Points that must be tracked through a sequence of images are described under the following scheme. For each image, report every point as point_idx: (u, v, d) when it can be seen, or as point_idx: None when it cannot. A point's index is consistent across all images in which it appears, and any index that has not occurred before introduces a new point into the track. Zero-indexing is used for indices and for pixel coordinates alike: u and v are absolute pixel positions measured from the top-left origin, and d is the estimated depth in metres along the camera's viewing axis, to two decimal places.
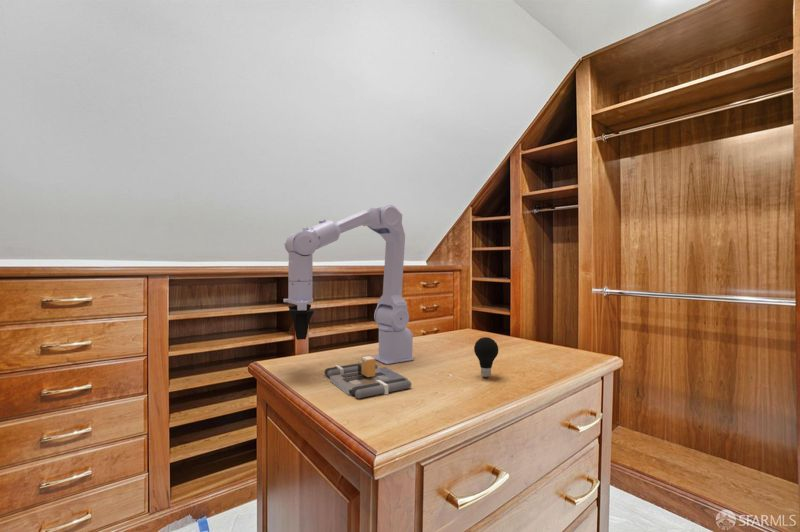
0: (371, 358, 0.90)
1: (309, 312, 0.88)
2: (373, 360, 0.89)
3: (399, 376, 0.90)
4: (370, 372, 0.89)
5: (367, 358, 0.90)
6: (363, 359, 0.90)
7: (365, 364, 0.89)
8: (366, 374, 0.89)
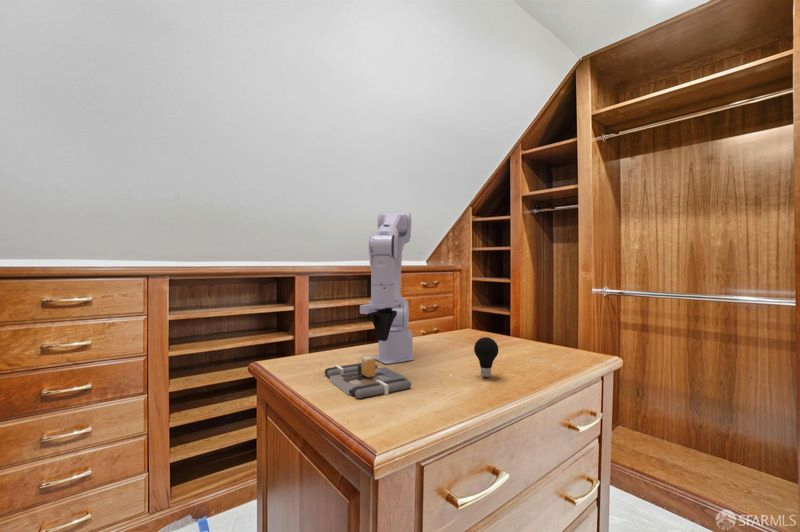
0: (371, 358, 0.90)
1: (381, 315, 0.89)
2: (373, 360, 0.89)
3: (399, 376, 0.90)
4: (370, 372, 0.89)
5: (367, 358, 0.90)
6: (363, 359, 0.90)
7: (365, 364, 0.89)
8: (366, 374, 0.89)
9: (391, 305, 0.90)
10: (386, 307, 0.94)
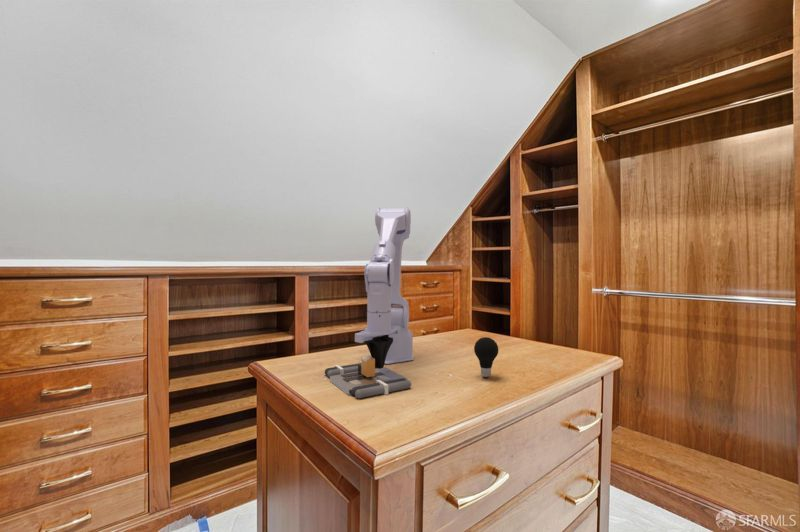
0: (371, 358, 0.90)
1: (377, 343, 0.88)
2: (373, 360, 0.89)
3: (399, 376, 0.90)
4: (370, 372, 0.89)
5: (367, 358, 0.89)
6: (363, 359, 0.90)
7: (365, 364, 0.89)
8: (366, 374, 0.89)
9: (387, 333, 0.89)
10: None
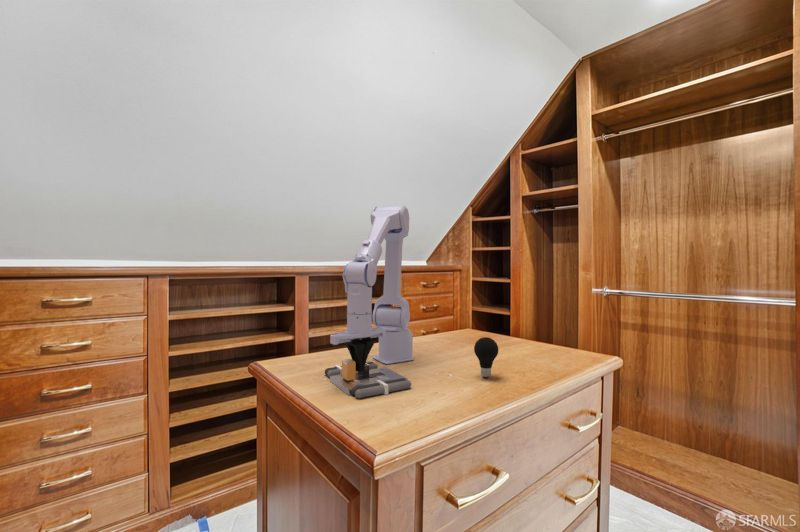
0: (351, 361, 0.87)
1: (354, 345, 0.86)
2: (353, 363, 0.86)
3: (399, 376, 0.90)
4: (350, 375, 0.86)
5: (347, 361, 0.87)
6: (343, 362, 0.87)
7: (345, 367, 0.86)
8: (346, 377, 0.86)
9: (365, 335, 0.86)
10: (364, 336, 0.90)
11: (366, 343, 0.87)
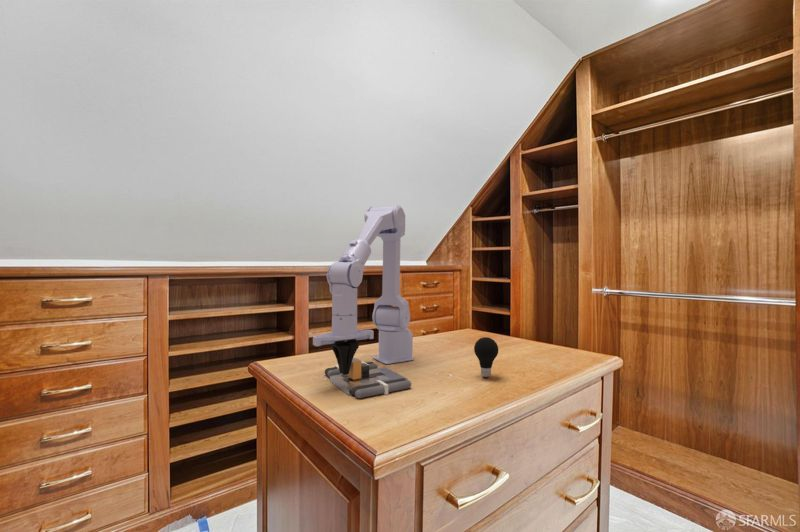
0: (357, 360, 0.88)
1: (337, 347, 0.84)
2: (359, 362, 0.87)
3: (399, 376, 0.90)
4: (356, 374, 0.87)
5: (353, 360, 0.88)
6: None
7: (351, 366, 0.87)
8: (352, 376, 0.87)
9: (348, 337, 0.84)
10: None
11: (350, 345, 0.85)
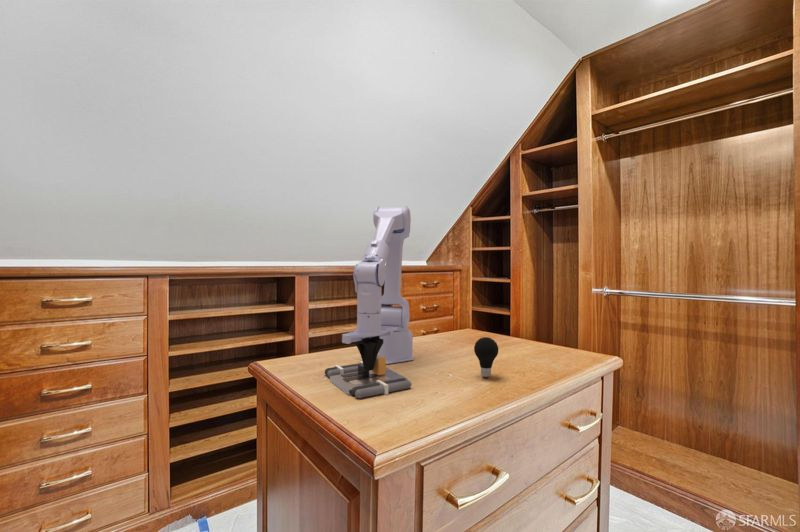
0: (382, 356, 0.91)
1: (365, 344, 0.87)
2: (384, 358, 0.91)
3: (399, 376, 0.90)
4: (381, 370, 0.90)
5: (378, 356, 0.91)
6: None
7: (376, 362, 0.91)
8: (377, 372, 0.90)
9: (376, 334, 0.88)
10: None
11: (376, 342, 0.88)
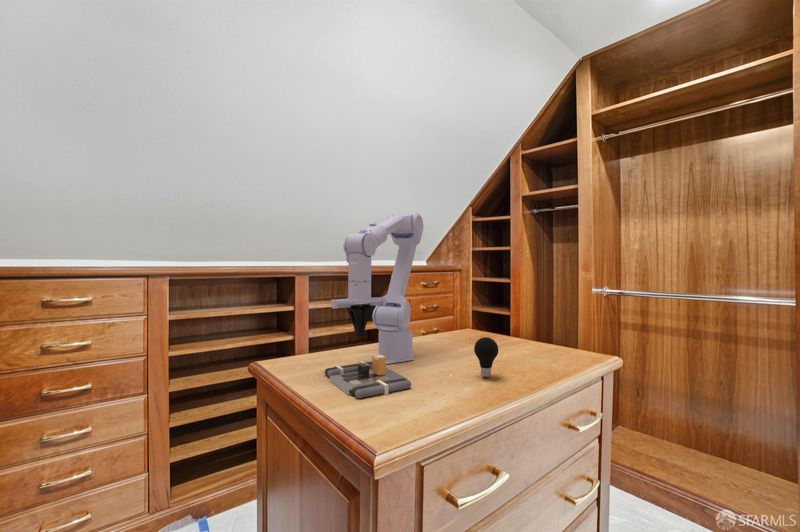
0: (382, 356, 0.91)
1: (353, 310, 0.92)
2: (384, 358, 0.91)
3: (399, 376, 0.90)
4: (381, 370, 0.90)
5: (378, 356, 0.91)
6: (374, 357, 0.92)
7: (376, 362, 0.91)
8: (377, 372, 0.90)
9: (363, 301, 0.92)
10: None
11: (364, 309, 0.93)
